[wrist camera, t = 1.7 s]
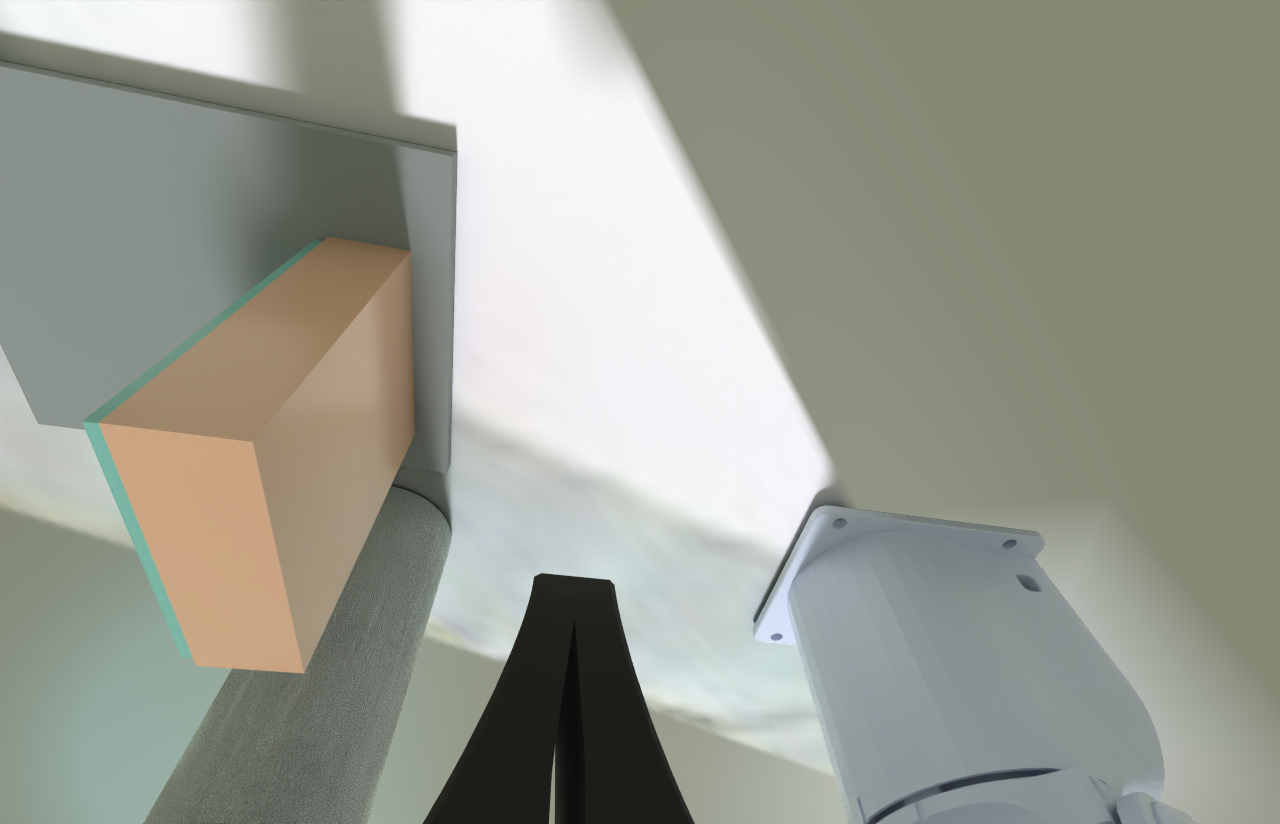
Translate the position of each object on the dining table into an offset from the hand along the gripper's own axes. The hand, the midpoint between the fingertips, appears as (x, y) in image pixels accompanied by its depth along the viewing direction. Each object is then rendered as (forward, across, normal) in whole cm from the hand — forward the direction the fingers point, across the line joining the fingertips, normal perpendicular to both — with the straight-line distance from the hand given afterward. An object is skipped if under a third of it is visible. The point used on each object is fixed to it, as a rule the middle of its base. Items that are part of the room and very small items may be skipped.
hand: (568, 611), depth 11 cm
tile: (+8, +6, 0) cm, 10 cm away
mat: (+9, +10, 0) cm, 13 cm away
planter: (+9, +6, +8) cm, 13 cm away
